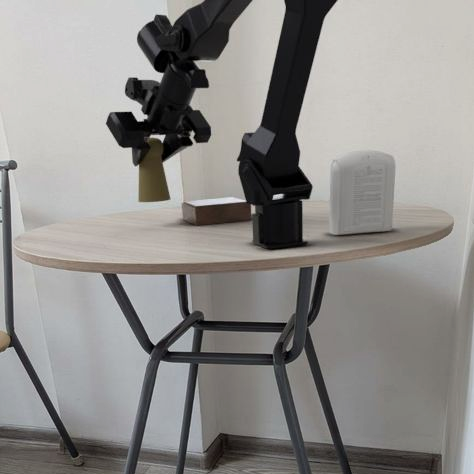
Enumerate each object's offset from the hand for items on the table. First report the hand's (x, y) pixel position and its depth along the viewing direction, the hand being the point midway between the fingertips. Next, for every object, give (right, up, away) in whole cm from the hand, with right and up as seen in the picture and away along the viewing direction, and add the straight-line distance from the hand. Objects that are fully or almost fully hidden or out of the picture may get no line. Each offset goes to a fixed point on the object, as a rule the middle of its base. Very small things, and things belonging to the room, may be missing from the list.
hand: (146, 163), depth 108 cm
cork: (+1, -7, +1) cm, 7 cm away
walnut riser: (+13, -9, +7) cm, 17 cm away
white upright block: (+36, -16, -15) cm, 42 cm away
